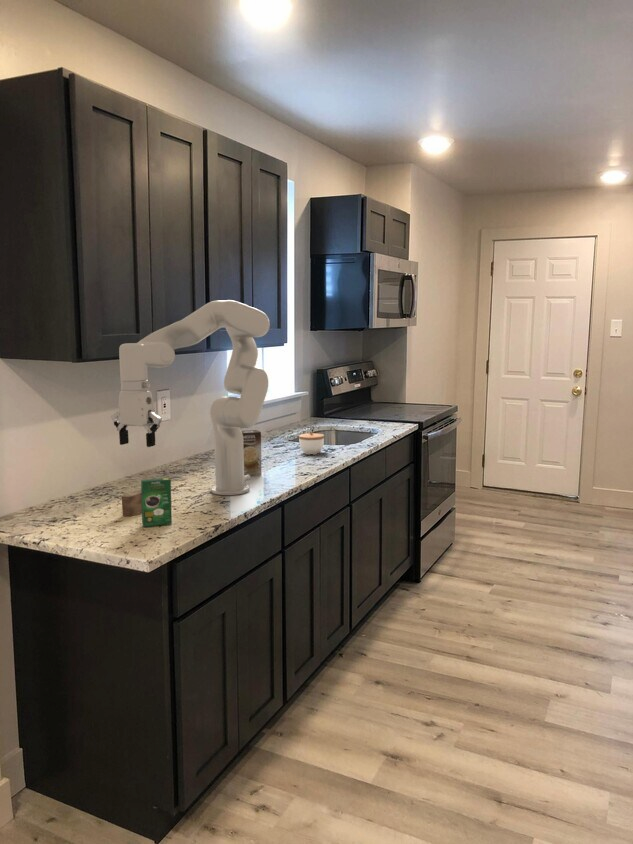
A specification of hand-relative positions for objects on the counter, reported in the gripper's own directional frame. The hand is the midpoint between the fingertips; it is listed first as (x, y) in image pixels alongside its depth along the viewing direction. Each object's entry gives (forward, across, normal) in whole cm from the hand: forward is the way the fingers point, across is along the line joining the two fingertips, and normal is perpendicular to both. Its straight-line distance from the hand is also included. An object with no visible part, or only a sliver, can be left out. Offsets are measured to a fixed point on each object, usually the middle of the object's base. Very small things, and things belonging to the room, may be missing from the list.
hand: (137, 445), depth 197 cm
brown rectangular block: (+21, +2, -4) cm, 21 cm away
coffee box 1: (+21, -11, +7) cm, 25 cm away
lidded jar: (+21, -8, -102) cm, 105 cm away
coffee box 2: (+21, -3, -57) cm, 61 cm away
